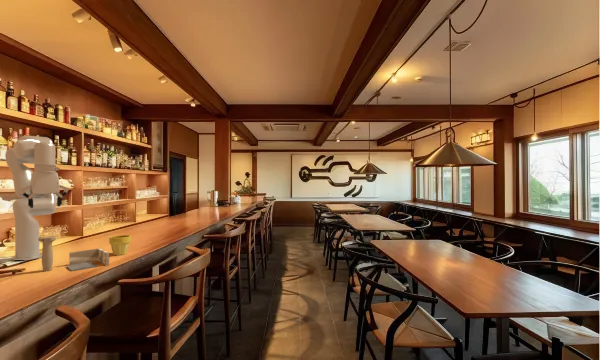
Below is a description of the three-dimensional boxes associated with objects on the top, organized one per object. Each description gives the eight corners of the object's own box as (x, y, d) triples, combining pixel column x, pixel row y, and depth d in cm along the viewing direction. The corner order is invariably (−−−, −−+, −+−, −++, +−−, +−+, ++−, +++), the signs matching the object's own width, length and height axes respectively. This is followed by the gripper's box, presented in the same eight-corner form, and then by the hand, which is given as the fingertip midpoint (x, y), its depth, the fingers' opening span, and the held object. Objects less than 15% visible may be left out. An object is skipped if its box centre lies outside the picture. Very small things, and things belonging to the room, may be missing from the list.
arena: (69, 264, 148) (69, 252, 148) (100, 259, 158) (100, 248, 158) (76, 270, 139) (76, 257, 139) (109, 265, 148) (109, 252, 148)
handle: (50, 271, 137) (50, 238, 137) (35, 272, 137) (35, 238, 137) (58, 268, 142) (58, 236, 142) (44, 268, 142) (44, 236, 142)
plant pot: (119, 251, 177) (119, 234, 177) (135, 252, 175) (135, 235, 175) (104, 255, 167) (104, 237, 167) (121, 256, 164) (121, 238, 164)
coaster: (66, 267, 145) (66, 265, 145) (91, 262, 152) (91, 261, 152) (71, 271, 138) (71, 270, 138) (97, 266, 145) (97, 265, 145)
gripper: (66, 170, 149) (67, 205, 149) (18, 169, 137) (19, 208, 136) (70, 169, 144) (70, 206, 144) (20, 168, 131) (21, 208, 131)
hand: (45, 207), depth 140 cm, fingers open, 9 cm apart
